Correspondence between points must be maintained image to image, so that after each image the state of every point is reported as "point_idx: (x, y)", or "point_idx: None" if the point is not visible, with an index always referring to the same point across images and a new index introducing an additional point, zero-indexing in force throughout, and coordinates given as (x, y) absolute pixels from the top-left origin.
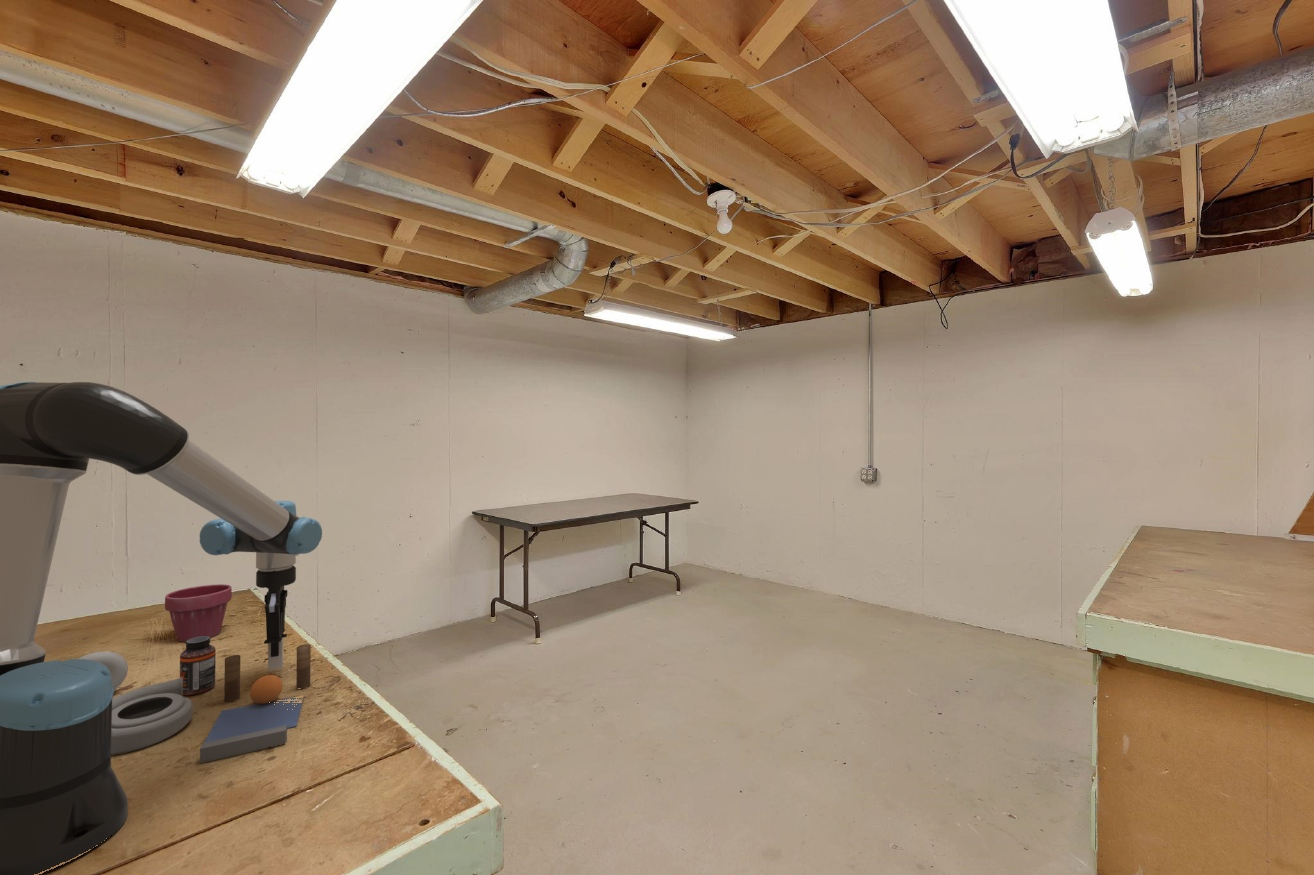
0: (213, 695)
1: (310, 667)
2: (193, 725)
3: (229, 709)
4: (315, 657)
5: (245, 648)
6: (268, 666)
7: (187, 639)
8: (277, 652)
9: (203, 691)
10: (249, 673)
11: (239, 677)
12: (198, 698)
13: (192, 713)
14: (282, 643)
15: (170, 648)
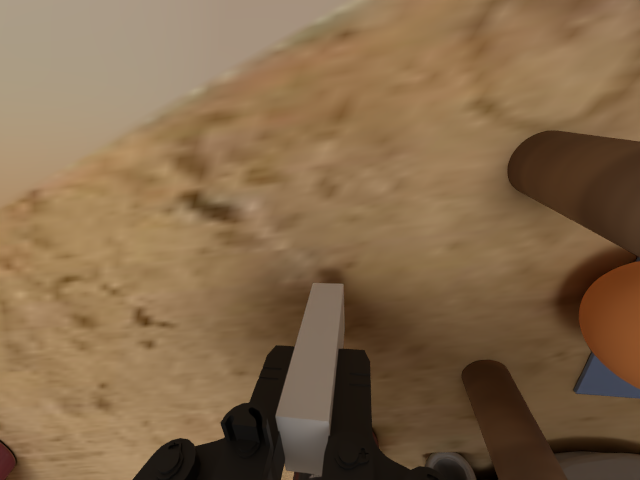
0: (405, 410)
1: (633, 143)
2: (626, 433)
3: (589, 379)
4: (158, 158)
5: (51, 372)
6: (343, 340)
7: (9, 464)
8: (369, 373)
9: (372, 432)
10: (262, 352)
11: (540, 446)
12: (405, 432)
13: (610, 464)
14: (322, 394)
15: (53, 473)
